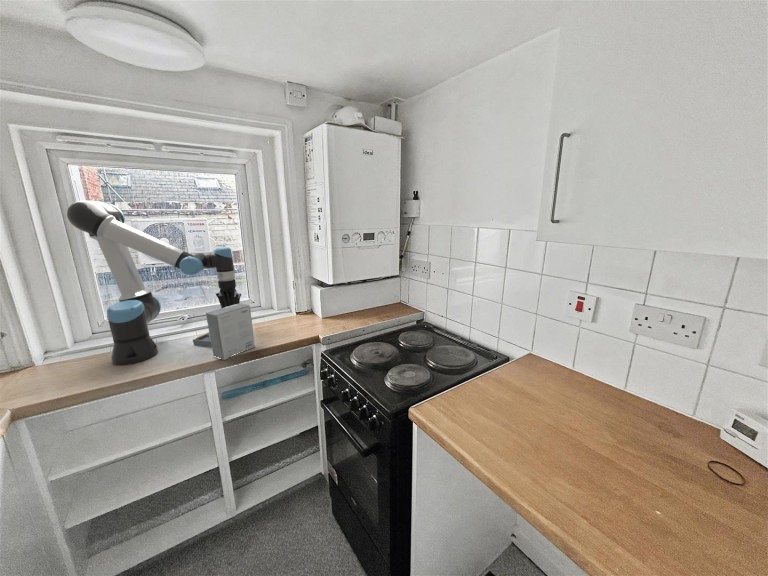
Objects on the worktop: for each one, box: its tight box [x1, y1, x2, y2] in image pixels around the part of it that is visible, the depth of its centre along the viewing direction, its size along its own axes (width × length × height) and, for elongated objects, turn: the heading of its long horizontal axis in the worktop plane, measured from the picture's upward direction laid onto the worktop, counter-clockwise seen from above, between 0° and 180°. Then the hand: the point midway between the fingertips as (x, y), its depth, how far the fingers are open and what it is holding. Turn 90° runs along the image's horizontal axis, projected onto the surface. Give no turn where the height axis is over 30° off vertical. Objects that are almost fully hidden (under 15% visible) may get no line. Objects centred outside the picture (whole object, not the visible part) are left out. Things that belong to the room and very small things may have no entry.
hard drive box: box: [205, 303, 256, 361], centre depth 128 cm, size 16×8×20 cm, turn 149°
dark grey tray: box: [192, 332, 212, 348], centre depth 145 cm, size 13×20×3 cm, turn 166°
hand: (232, 325), depth 149 cm, fingers closed
